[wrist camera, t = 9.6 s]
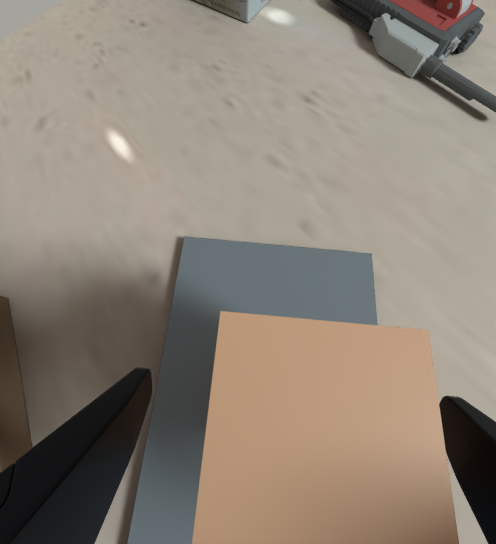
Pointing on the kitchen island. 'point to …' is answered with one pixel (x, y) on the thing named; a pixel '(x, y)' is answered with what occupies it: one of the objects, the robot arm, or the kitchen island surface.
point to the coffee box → (237, 7)
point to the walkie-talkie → (422, 37)
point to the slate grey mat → (202, 346)
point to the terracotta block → (323, 436)
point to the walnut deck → (11, 395)
